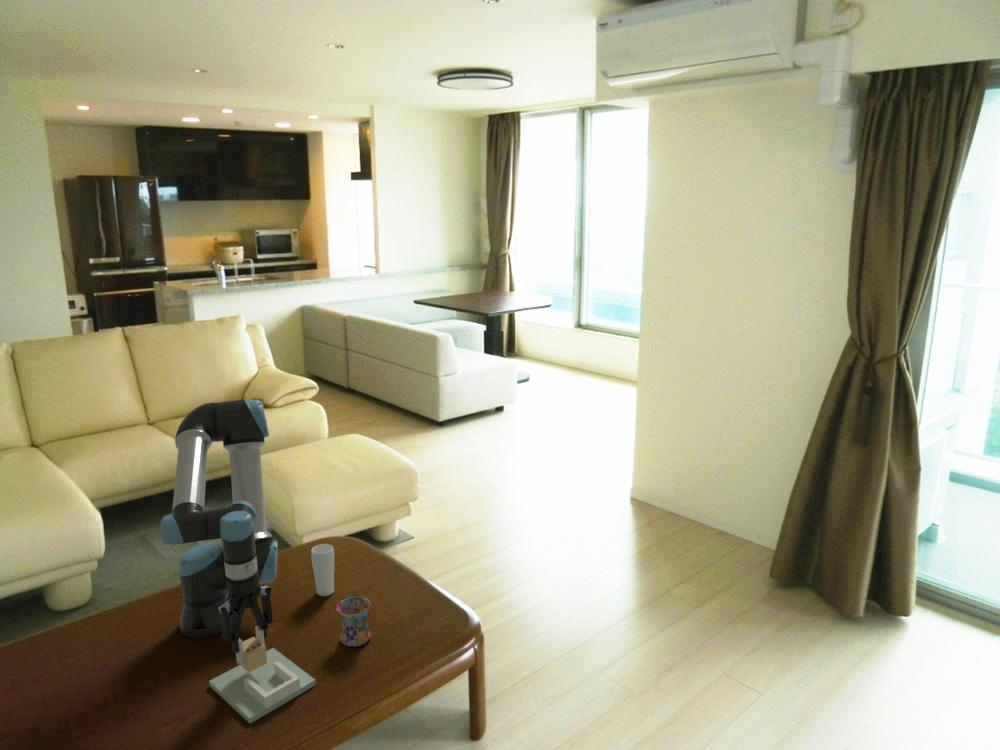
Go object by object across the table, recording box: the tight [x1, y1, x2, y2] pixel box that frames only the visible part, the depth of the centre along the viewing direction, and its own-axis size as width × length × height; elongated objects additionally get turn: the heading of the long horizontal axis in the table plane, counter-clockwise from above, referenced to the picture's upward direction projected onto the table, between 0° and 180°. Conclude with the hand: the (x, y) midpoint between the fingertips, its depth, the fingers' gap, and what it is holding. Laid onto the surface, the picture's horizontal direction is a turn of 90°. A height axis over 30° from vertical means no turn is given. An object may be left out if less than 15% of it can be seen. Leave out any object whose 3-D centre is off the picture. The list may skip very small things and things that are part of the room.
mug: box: [335, 596, 372, 648], centre depth 195 cm, size 12×9×11 cm
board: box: [208, 647, 317, 724], centre depth 177 cm, size 20×18×4 cm
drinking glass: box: [310, 543, 335, 597], centre depth 218 cm, size 7×7×15 cm
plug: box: [236, 636, 267, 672], centre depth 178 cm, size 6×5×5 cm
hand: (251, 656), depth 178 cm, fingers closed on plug, 5 cm apart
